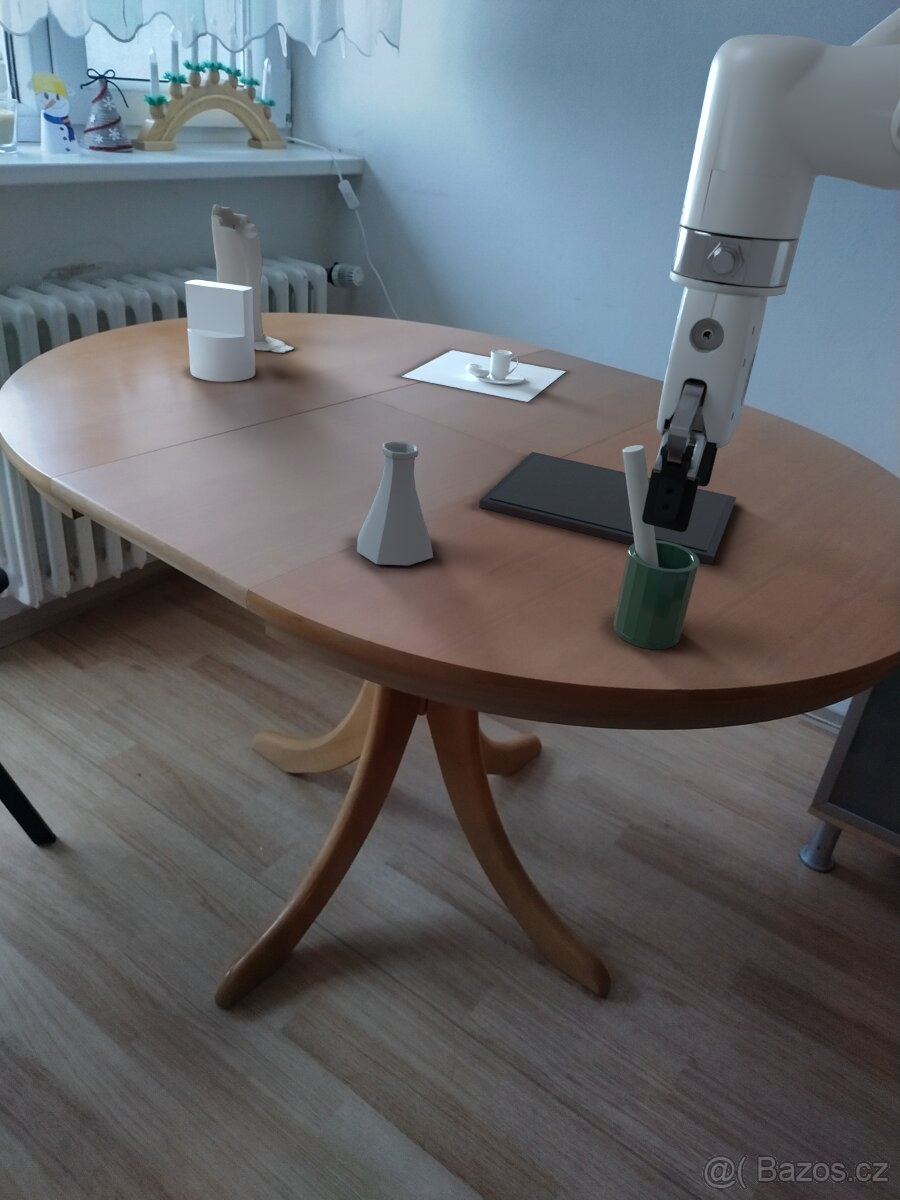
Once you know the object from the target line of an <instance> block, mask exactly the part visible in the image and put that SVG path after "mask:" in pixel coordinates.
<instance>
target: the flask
mask: <svg viewBox="0 0 900 1200" xmlns="http://www.w3.org/2000/svg"><path fill="white" fill-rule="evenodd" d="M382 454H383V456H384V466H383V467H384V468H383V471H382V476H381V481H380V484H379V487H378V489H377V492H376V494H375V496H374V499H373V501H372V504H371V506H370V509H369V511H368V513H367V516H366V518H365V520H364V522H363V524H362V527H361V528H360V531H359V533H358V535H357V538H356V539H357V543H356V545H357V547H356V552H357V553H358V554H360V555H361V556H363V557H364V558H366V559H368V560H369V561H370V562H372V563H374V564H376V565H385V566H386V565H387V566H388V565H391V566H411V565H415V564H417V563H420V562H424V561H427V560H429V559H432V558H434V554H433V553H434V552H433V548H432V541H431V538H430V533H429V530H428V526H427V525H426V520H425V518H424V515H423V511H422V507H421V503H420V499H419V496H418V493H417V492H418V491H417V489H416V481H415V479H416V478H415V460H416V458H418V455H419V447H418V445H416V444H414V443H412V442H410V441H404V440H402V441H401V440H392V441H387V442H383V443H382Z"/></svg>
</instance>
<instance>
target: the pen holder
mask: <svg viewBox="0 0 900 1200" xmlns="http://www.w3.org/2000/svg"><path fill="white" fill-rule="evenodd" d="M656 548H657V556H658V564H659V567H657V566H653V565H650V564H648V563H646V562H644V561H642V560H641V559H640V558H639V557H637V556H636V549H635V543H634V544H632V545H630V546H629V547H628V550H627V554H626V559H625V563H624V570H623V574H622V580H621V584H620V588H619V594H618V597H617V598H618V599H617V604H616V607H615V614H614V617H613V621H614V622H613V630H614V633H615V634H616V635H617V636H618V637H619V638H620V639H622V640H623V641H625V642H626V643H629V644H631V645H633V646H636V647H639V648H642V649H646V650H647V649H649V650H665V649H669V648H672V647H674V646H676V645H677V644H678V643H679V641H680V640H681V636H682V633H683V629H684V625H685V622H686V618H687V613H688V610H689V605H690V603H691V597H692V593H693V590H694V585H695V581H696V578H697V574H698V570H699V567H700V563H701V562H700V561H699V559H698V557H697V555H696V554H694V553H693V552H692V551H690V550H689V549H687V548H685V547H682V546H680V545H678V544H674V543H670V542H666V541H659V540H656Z"/></svg>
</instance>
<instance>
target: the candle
mask: <svg viewBox="0 0 900 1200" xmlns="http://www.w3.org/2000/svg"><path fill="white" fill-rule="evenodd" d="M211 231H212V242H213V249H214V256H215V257H214V258H215V266H216V282H217V283H225V284H232V285H240V286H248V287H252V295H253V326H254V337H256V338H254V350H257V351H265V352H267V351H270V352H273V353H280V354H281V353H286V352H289V351H290V352H291V351H292V350H294V349H295V348H294V347H293V346H290V345H287V344H286V342H284V341H282V340H280V339H278V338H274V337H272V336H269V335H266V333H265V332H264V328H263V327H264V326H263V315H262V314H263V313H262V277H263V257H262V252H261V242H260V241H261V239H260V235H259V228H258V225H257V224H253V223H251V218H250V216H249V215H248V214H242V213H234V212H233V210H232V207H229V206H221V205H219V204H213V206H212V208H211ZM263 333H264V334H263ZM262 334H263V335H262ZM260 335H262V336H260ZM258 336H260V337H258Z"/></svg>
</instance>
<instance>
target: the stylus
mask: <svg viewBox="0 0 900 1200" xmlns="http://www.w3.org/2000/svg"><path fill="white" fill-rule="evenodd" d="M622 459H623V466H624V472H625V474H626V481H627V489H628V496H629V504H630V512H631V519H632V527H633V534H634V542H635V549H636V556H637V557H639V558H640V559H641V560H642V561H644V562H646V563H648V564H650V565H653V566H657V567H659V564H658V556H657V548H656V539H655V531H654V526H653V525H649V524H645V523H644V522H643V521H642V516H643V511H644V506H645V501H646V496H647V492H648V487H649V482H648V478H649V475H648V467H647V465H648V464H647V459H646V450H645V446H644V445H641V444H635V445H630V446H627V447H624V448H622Z"/></svg>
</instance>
